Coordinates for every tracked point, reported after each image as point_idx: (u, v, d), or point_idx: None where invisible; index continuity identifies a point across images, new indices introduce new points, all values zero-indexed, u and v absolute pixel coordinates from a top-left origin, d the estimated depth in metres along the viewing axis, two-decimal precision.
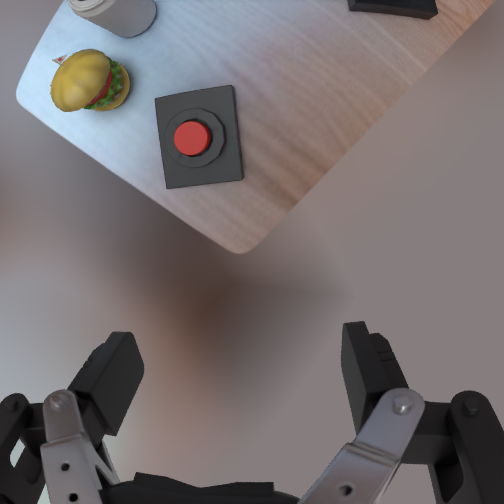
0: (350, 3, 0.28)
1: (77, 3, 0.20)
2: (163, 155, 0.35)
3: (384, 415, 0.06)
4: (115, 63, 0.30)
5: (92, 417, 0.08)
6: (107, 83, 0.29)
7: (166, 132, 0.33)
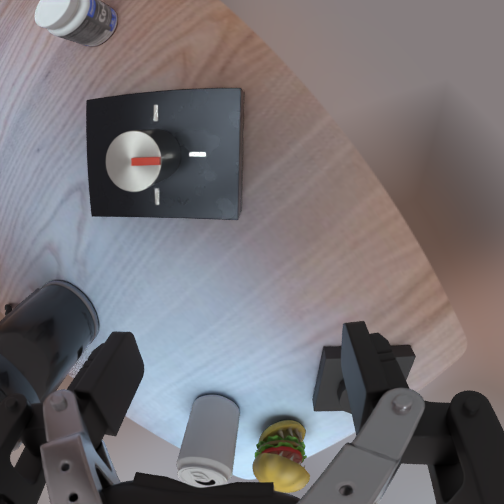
0: None
1: (215, 485, 0.29)
2: None
3: (384, 415, 0.06)
4: (269, 437, 0.37)
5: (92, 417, 0.08)
6: (291, 451, 0.35)
7: None
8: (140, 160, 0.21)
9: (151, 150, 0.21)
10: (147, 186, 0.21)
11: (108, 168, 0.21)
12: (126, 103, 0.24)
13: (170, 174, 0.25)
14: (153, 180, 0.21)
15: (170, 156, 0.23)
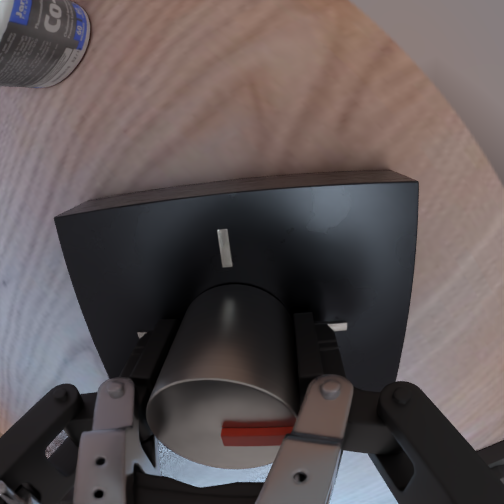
0: None
1: None
2: None
3: (310, 398, 0.07)
4: None
5: None
6: None
7: None
8: (247, 440, 0.08)
9: (273, 416, 0.08)
10: (266, 463, 0.09)
11: (160, 436, 0.08)
12: (145, 226, 0.11)
13: None
14: None
15: (297, 377, 0.10)
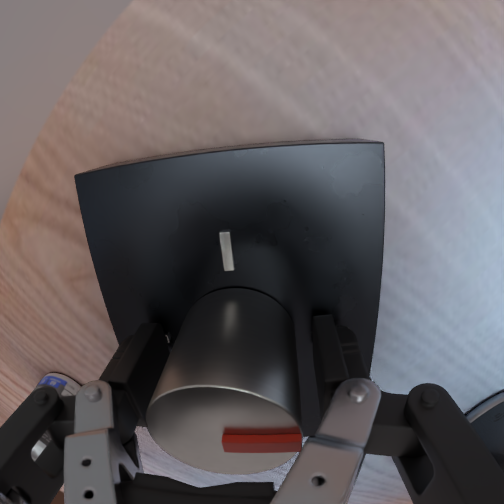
0: None
1: None
2: None
3: (339, 402, 0.07)
4: None
5: (126, 408, 0.09)
6: None
7: None
8: (248, 447, 0.07)
9: (275, 424, 0.07)
10: (265, 469, 0.08)
11: (159, 441, 0.08)
12: None
13: None
14: (281, 463, 0.08)
15: None
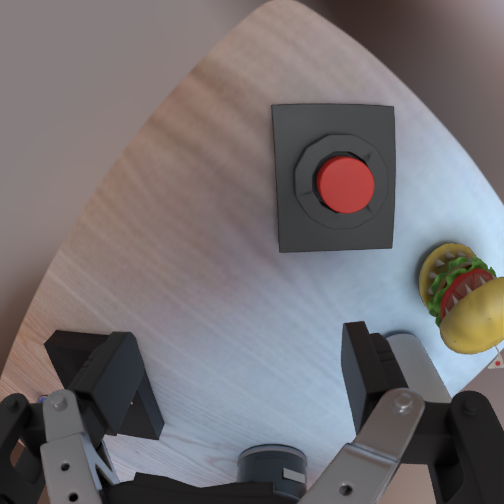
0: None
1: None
2: (393, 160, 0.22)
3: (384, 415, 0.06)
4: (431, 312, 0.24)
5: (92, 417, 0.08)
6: (450, 294, 0.21)
7: (383, 198, 0.21)
8: None
9: None
10: None
11: None
12: None
13: None
14: None
15: None
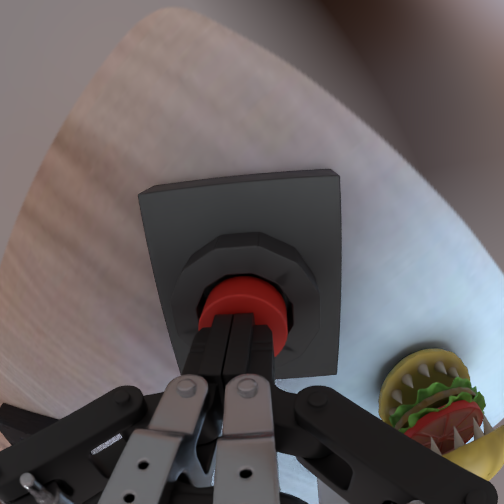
0: None
1: None
2: (337, 263, 0.15)
3: (226, 394, 0.08)
4: None
5: (217, 402, 0.09)
6: None
7: (313, 333, 0.14)
8: None
9: None
10: None
11: None
12: None
13: None
14: None
15: None
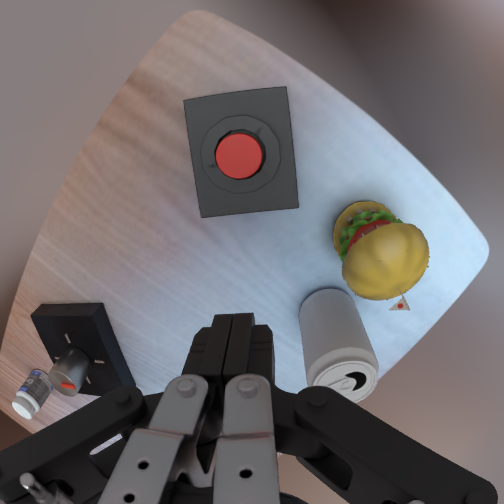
0: (101, 311, 0.36)
1: (365, 370, 0.24)
2: (289, 131, 0.26)
3: (226, 394, 0.08)
4: None
5: (217, 402, 0.09)
6: (352, 244, 0.26)
7: (277, 163, 0.26)
8: (65, 386, 0.32)
9: (68, 381, 0.32)
10: (74, 395, 0.33)
11: (52, 384, 0.33)
12: None
13: (88, 373, 0.36)
14: (76, 393, 0.33)
15: (81, 374, 0.34)
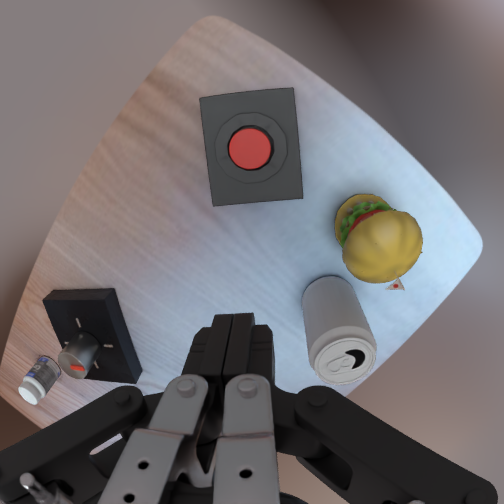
0: (113, 296, 0.38)
1: (364, 348, 0.26)
2: (295, 128, 0.29)
3: (226, 394, 0.08)
4: None
5: (217, 402, 0.09)
6: None
7: (284, 156, 0.28)
8: (74, 368, 0.34)
9: (78, 363, 0.34)
10: (83, 377, 0.35)
11: (61, 367, 0.35)
12: None
13: (97, 357, 0.39)
14: (84, 375, 0.35)
15: (91, 357, 0.36)
